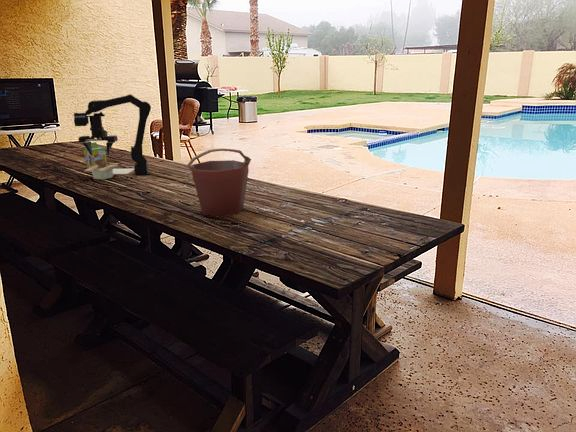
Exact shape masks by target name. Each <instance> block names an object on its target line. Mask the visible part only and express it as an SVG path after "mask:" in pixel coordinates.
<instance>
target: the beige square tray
mask: <svg viewBox="0 0 576 432" xmlns="http://www.w3.org/2000/svg"><path fill="white" fill-rule="evenodd" d="M97 164H98V165H94V166H92V167H90V168H86V169H84V172H92V171H110V170H112V169H117V168H119V164H107V165H106V161H105V159H99V160H97Z"/></svg>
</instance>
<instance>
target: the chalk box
mask: <svg viewBox="0 0 576 432" xmlns="http://www.w3.org/2000/svg"><path fill="white" fill-rule="evenodd" d="M93 145H94V146H93ZM91 149H92V155H90V153H89V152H88V150H87V148H86V147H85V148H83V154H84V161H85V168H86V169H87V168H90V167H92V166H94V165H98V164H97V160H99V159H105V161H106V165H108V159H107V148H104V147H98V144H97V142H95V141H93V142H91Z"/></svg>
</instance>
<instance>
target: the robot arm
mask: <svg viewBox="0 0 576 432" xmlns="http://www.w3.org/2000/svg"><path fill="white" fill-rule="evenodd" d="M129 103H130V104H132V105H134V106H135V107H137V108H138V115H139V116H138V123H137V124H138V125H137V130H136V136H135V142H134V145H133V146H132V145H131V146H130V151H129V156H130V157H131V160H132V161H133V162H135V163H134V167H133V168H134V170H133V171H134V175H135V176H148V174H150V171H149V163H148V159H147V158H146V157H145V156H144V155H143V143H144V136H145V132H146V131H145V130H146V126H147V125H146V124H147V120H148V117H149V115H150V112H151V109H152V106H151V105H150V103H149V102H147V101H144V100H140V99H139V98H137V97H135V96H133V94H131V93H130V94H127V95H122V96H118V97H113V98H110V99H99V100H96V99H95V100H91V101H89V102H88V104H87V110H85V112H74V113H73V124H74V126H75V127H87V126H88V125H89V124H90V128H89V130H90V132H91V135H81V136H79V137H78V143H81V145H83V147H84V148H85V149H86V148H87V150H88V152H89V153H90V155H92V149H91V143H92V142H95V141H97V142H100V141H101V142H102V141H103V142H104V141H105V142H106V143H105V145H106V154H107V155H108V156H110V154H111V151H112V146H113V144H115V143H116V142H118V141H119V139H118V136H117V135H115V134H114V135H110V134H108V131H107V130H106V129H104V126H103V120H102V117H105V114H104V113H103V112H102V110H106V109H107V108H111V107H115V106H119V105H125V104H129ZM91 114H93V115H91Z"/></svg>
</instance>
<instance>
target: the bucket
mask: <svg viewBox="0 0 576 432" xmlns="http://www.w3.org/2000/svg"><path fill="white" fill-rule="evenodd" d="M222 151H223V152H233V153H238V154H239V155H240V156H241V157H242V158H243V159H244V161H239V160H235V159H233V160H232V159H230V160H228V159H227V160H207V161H203V162H199V163H194V162H195V161H196V160H199V159H200V158H201V157H203V156H205V155H208V154H210V153H214V152H222ZM251 160H252V159H251V158H250V157H249V156H247V155H245V154H244V153H243V151H241V150H239V149H235V148H234V149H233V148H213V149H208V150H206V151H203V152H201V153H199V154H198V155H196V156H193V157H192V158H191V159H190V161H189V162H188V163H187V168H188V169H189V170H190V171H191V175H192V180H193V183H194V186H195V187H194V188H195V191H196V194H197V195H196V196H197V197H198V202H199V205H200V210H201V213H202V216H205V215H210V216H209V217H214V216H219V217H218V218H222V217H221V216H224V217H228V216H227V215H230V216H234V215H233V214H236V215H239V214H240V213H241V212H242V210H244V206H245V205H244V204H245V198H246V190H247V184H248V178H249V171H250V170H249V165H250V163H251Z"/></svg>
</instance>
